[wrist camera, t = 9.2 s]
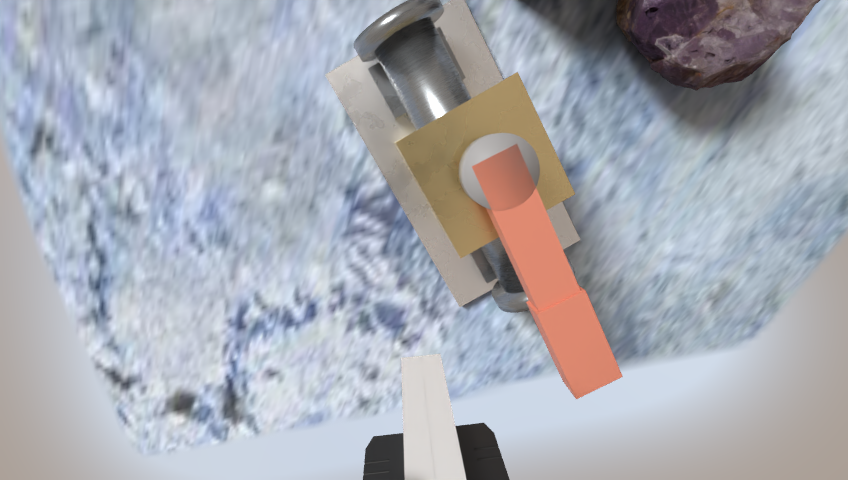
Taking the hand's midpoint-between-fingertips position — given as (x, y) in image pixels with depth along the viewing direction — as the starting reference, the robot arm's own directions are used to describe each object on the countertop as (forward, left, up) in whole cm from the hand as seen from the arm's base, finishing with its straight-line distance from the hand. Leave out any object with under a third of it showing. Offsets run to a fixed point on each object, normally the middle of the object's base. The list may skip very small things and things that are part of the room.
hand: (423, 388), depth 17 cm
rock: (-28, -5, -22) cm, 36 cm away
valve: (-8, -4, -22) cm, 23 cm away
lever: (-8, +2, -9) cm, 12 cm away
